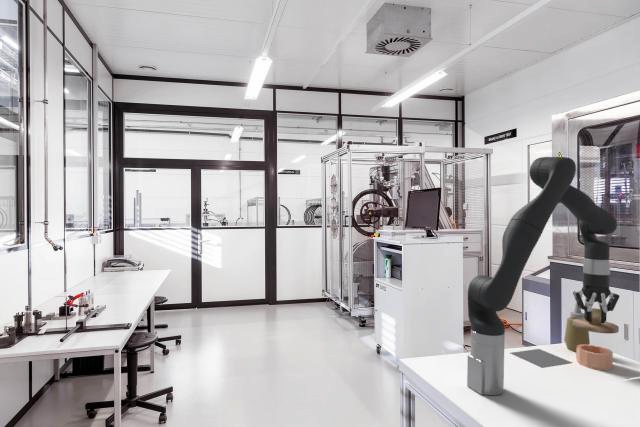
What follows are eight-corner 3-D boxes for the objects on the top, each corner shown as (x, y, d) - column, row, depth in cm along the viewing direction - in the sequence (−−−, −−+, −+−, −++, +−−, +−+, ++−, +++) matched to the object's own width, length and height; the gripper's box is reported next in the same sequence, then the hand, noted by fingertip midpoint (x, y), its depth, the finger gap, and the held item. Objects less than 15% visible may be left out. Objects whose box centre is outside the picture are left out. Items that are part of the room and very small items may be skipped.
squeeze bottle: (564, 352, 150) (565, 304, 149) (563, 345, 157) (564, 300, 156) (590, 356, 146) (592, 307, 145) (588, 349, 153) (589, 302, 153)
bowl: (597, 373, 131) (598, 356, 131) (569, 361, 141) (570, 346, 141) (619, 369, 134) (619, 353, 134) (590, 358, 144) (591, 343, 144)
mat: (541, 369, 134) (541, 367, 134) (509, 354, 147) (509, 352, 147) (572, 364, 138) (573, 362, 138) (538, 350, 152) (538, 348, 152)
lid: (599, 335, 129) (600, 315, 129) (563, 323, 141) (564, 306, 141) (628, 331, 133) (628, 312, 133) (590, 320, 146) (590, 303, 145)
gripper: (578, 273, 135) (577, 324, 135) (625, 274, 132) (624, 326, 132) (568, 269, 142) (567, 318, 142) (613, 271, 139) (612, 320, 140)
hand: (595, 322), depth 137 cm, fingers closed on lid, 3 cm apart
